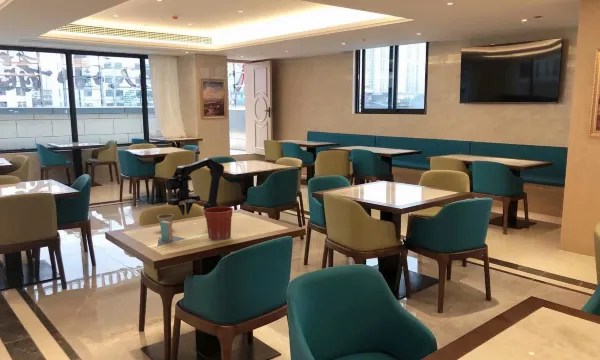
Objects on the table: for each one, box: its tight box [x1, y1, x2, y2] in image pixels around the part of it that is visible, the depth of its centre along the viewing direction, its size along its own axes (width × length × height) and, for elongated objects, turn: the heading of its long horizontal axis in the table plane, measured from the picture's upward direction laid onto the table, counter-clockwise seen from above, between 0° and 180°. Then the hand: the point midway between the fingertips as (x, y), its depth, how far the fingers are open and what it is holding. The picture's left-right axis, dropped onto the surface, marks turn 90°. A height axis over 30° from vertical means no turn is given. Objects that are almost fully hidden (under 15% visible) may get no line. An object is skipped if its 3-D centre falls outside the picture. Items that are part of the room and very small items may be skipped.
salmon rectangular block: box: [159, 221, 174, 241], centre depth 274 cm, size 3×7×10 cm, turn 50°
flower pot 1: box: [157, 213, 174, 228], centre depth 298 cm, size 9×9×9 cm
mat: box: [157, 234, 186, 247], centre depth 272 cm, size 20×15×1 cm
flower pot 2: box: [203, 206, 234, 241], centre depth 276 cm, size 16×16×16 cm
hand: (185, 214), depth 283 cm, fingers open, 3 cm apart
